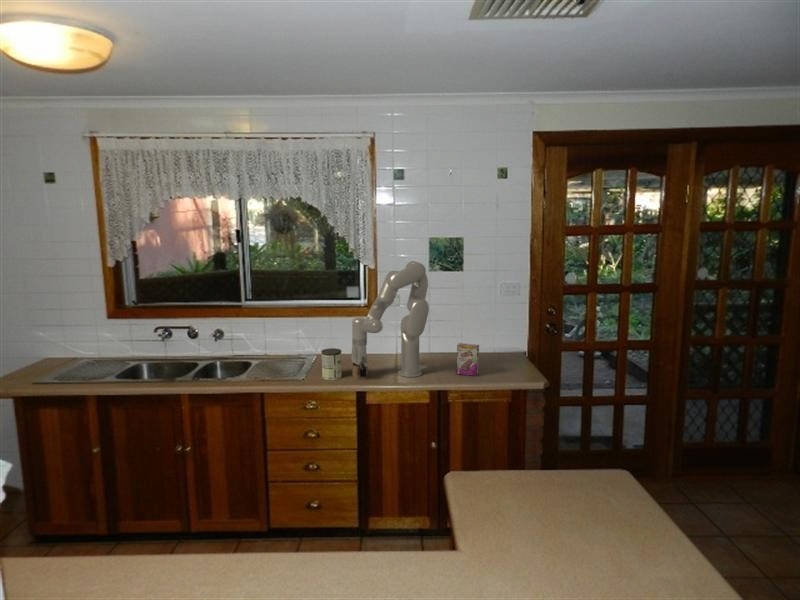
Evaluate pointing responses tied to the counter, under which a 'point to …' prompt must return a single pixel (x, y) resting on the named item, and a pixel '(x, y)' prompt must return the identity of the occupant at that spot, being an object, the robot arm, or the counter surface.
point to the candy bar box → (467, 359)
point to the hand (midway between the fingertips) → (359, 373)
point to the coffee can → (331, 364)
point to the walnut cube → (358, 372)
